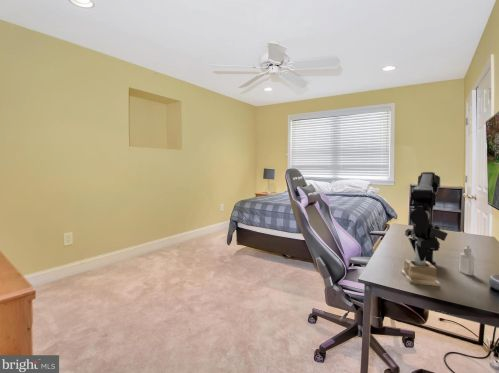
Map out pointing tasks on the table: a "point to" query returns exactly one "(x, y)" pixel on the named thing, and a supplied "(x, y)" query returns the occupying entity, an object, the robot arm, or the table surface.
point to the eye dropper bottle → (467, 262)
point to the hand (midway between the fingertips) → (420, 259)
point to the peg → (418, 259)
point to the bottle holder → (420, 273)
